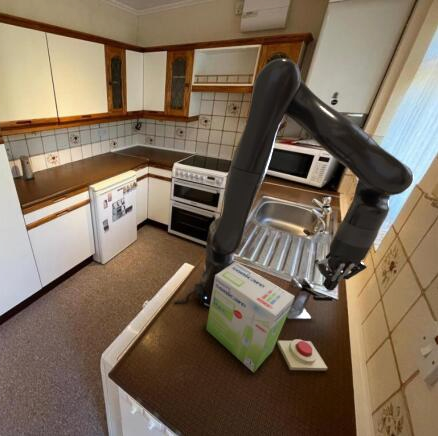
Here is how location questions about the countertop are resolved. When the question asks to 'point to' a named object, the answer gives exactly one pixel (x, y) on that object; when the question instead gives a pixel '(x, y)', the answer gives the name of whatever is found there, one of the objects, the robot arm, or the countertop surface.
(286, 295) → the toothbrush box
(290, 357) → the button block
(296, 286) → the grey upright angular piece
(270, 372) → the countertop surface
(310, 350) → the stop button
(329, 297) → the press lever
